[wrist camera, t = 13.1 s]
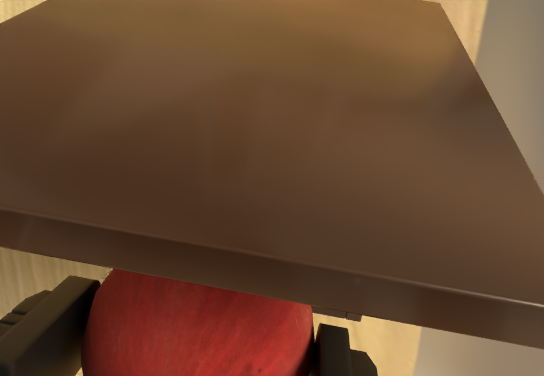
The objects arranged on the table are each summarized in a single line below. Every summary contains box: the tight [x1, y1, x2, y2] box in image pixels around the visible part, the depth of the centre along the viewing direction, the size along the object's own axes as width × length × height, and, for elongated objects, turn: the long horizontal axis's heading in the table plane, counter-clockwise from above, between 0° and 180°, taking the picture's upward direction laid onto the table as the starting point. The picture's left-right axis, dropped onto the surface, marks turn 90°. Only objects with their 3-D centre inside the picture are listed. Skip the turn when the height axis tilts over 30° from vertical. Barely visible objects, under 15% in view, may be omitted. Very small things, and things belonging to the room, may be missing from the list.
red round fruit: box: [81, 269, 315, 376], centre depth 12 cm, size 6×6×8 cm
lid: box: [0, 0, 544, 349], centre depth 12 cm, size 14×11×1 cm
